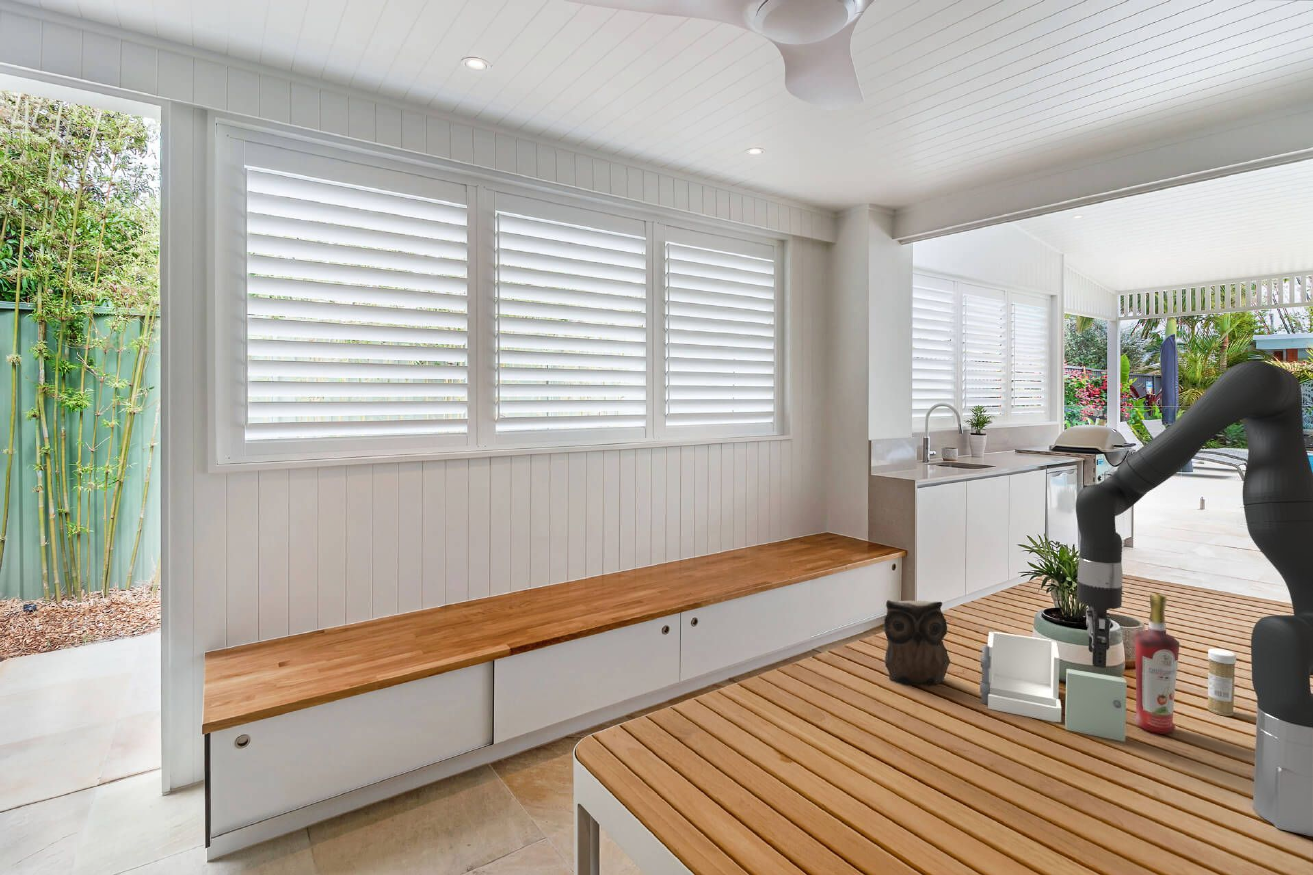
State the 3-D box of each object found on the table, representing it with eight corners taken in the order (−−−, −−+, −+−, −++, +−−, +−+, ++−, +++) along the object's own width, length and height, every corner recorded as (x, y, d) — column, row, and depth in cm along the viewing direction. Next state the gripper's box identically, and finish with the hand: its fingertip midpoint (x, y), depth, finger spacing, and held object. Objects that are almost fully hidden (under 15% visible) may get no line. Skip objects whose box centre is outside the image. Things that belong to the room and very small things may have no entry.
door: (1125, 743, 128) (1127, 684, 128) (1066, 731, 133) (1067, 674, 132) (1123, 736, 131) (1124, 678, 131) (1065, 724, 136) (1066, 668, 135)
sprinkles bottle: (1237, 713, 141) (1239, 652, 140) (1229, 718, 138) (1232, 657, 137) (1210, 705, 144) (1212, 646, 144) (1202, 710, 142) (1205, 650, 141)
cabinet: (1061, 723, 136) (1062, 662, 136) (979, 706, 144) (980, 649, 143) (1056, 691, 152) (1057, 636, 151) (982, 677, 159) (983, 625, 159)
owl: (952, 682, 157) (953, 601, 156) (918, 694, 150) (919, 610, 149) (907, 665, 167) (908, 588, 166) (874, 675, 161) (875, 596, 160)
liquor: (1165, 722, 137) (1170, 591, 135) (1183, 739, 130) (1188, 602, 128) (1125, 717, 139) (1129, 589, 137) (1141, 734, 132) (1145, 599, 130)
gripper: (1127, 592, 123) (1124, 676, 124) (1117, 575, 135) (1114, 650, 136) (1080, 587, 127) (1077, 668, 128) (1075, 570, 139) (1072, 644, 140)
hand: (1096, 659), depth 132 cm, fingers open, 8 cm apart
